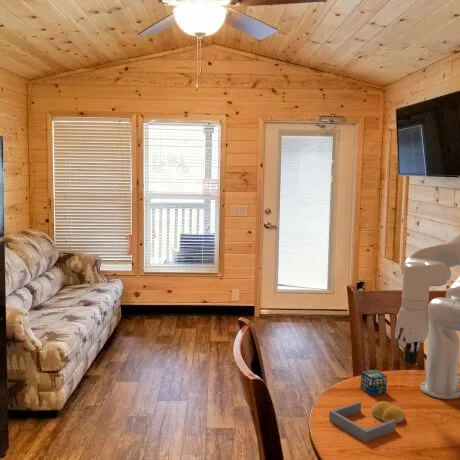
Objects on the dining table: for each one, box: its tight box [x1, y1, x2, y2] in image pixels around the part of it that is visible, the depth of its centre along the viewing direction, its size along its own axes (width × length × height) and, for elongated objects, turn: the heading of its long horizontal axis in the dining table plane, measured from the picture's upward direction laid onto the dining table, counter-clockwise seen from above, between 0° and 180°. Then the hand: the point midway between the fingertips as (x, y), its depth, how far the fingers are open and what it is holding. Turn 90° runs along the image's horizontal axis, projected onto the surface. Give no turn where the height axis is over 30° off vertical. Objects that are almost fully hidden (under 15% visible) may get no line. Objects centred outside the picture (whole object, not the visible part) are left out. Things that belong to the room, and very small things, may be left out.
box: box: [328, 401, 397, 443], centre depth 146 cm, size 12×14×3 cm
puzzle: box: [360, 369, 388, 397], centre depth 169 cm, size 6×6×6 cm
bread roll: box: [371, 400, 405, 424], centre depth 152 cm, size 8×9×4 cm
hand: (410, 362), depth 155 cm, fingers closed
